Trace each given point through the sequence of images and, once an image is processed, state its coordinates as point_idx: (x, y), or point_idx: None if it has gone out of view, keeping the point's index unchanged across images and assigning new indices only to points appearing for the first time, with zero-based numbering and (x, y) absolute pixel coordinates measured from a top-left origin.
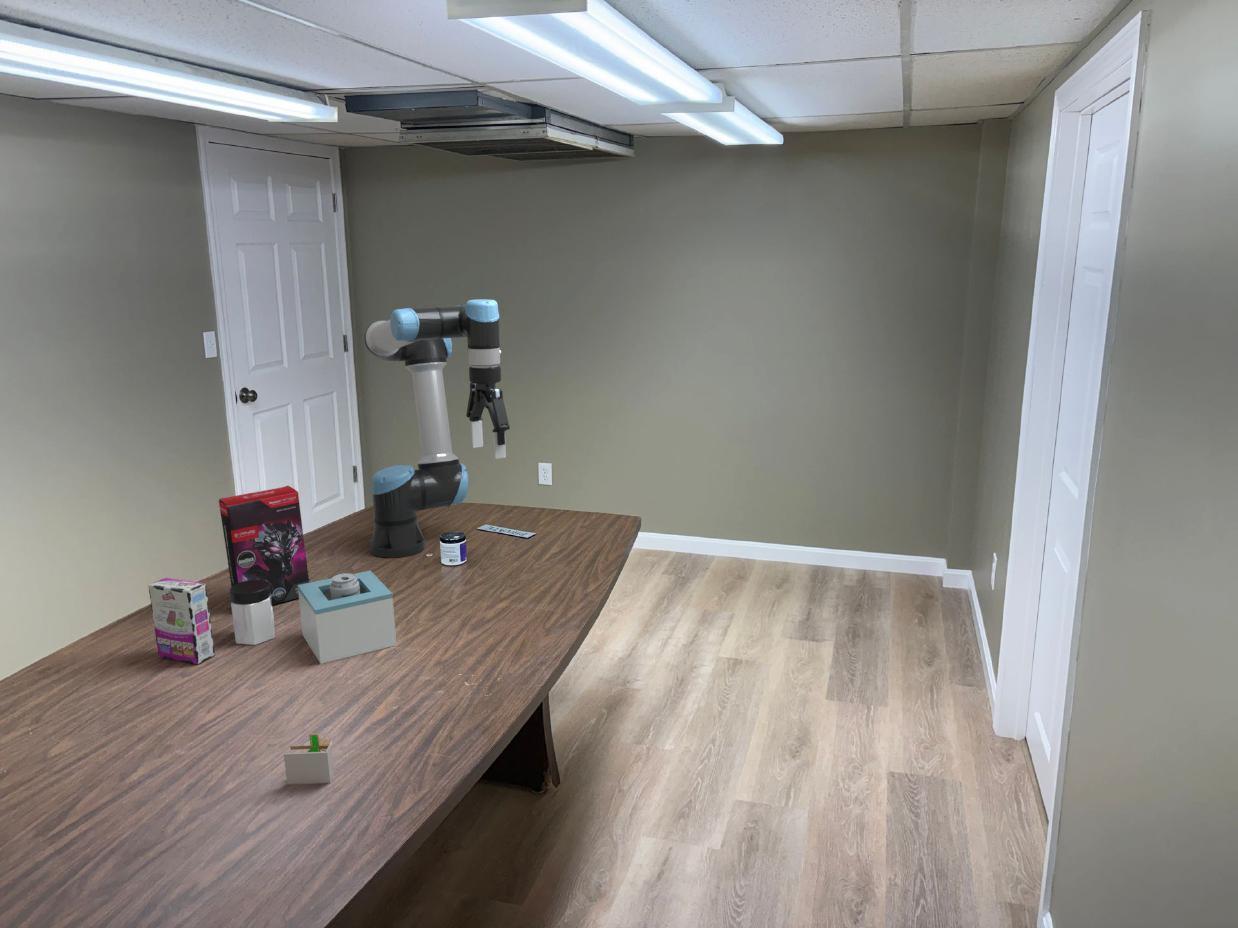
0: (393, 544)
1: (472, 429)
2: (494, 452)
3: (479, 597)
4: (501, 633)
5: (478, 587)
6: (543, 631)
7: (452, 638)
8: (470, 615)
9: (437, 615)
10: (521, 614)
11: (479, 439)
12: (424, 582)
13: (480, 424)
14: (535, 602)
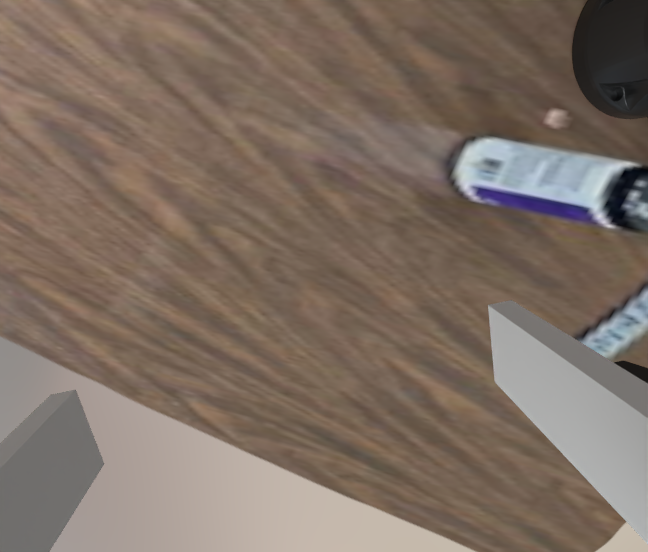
0: (608, 8)
1: (593, 381)
2: (41, 419)
3: (230, 179)
4: (13, 180)
5: (291, 189)
6: (4, 266)
7: (10, 68)
8: (131, 136)
9: (153, 60)
10: (105, 244)
11: (523, 387)
12: (373, 68)
13: (628, 506)
14: (162, 288)
